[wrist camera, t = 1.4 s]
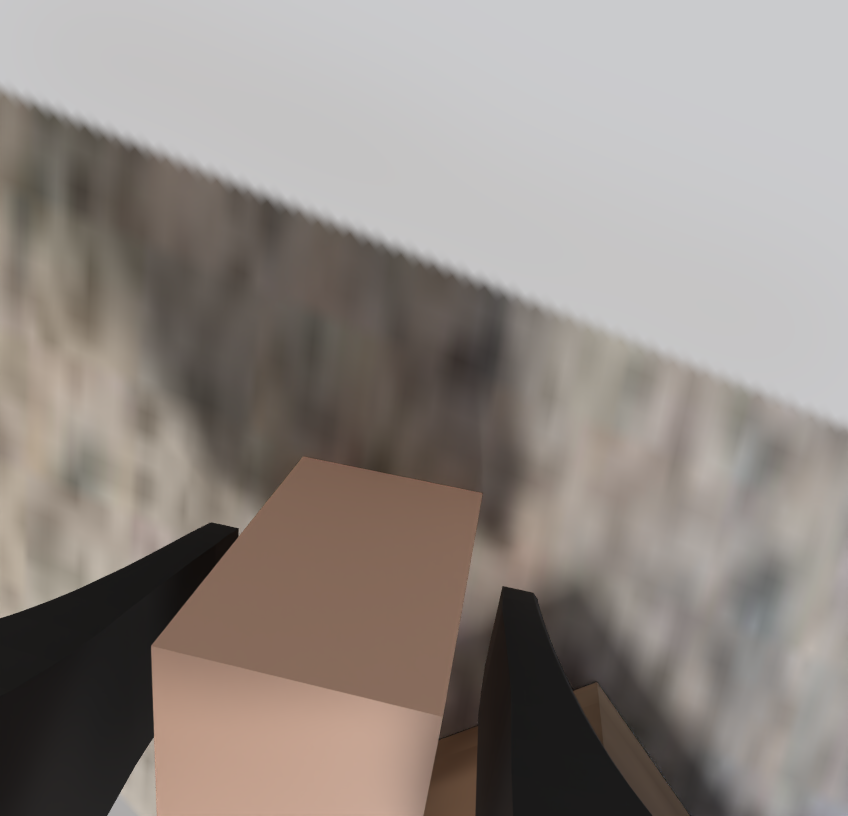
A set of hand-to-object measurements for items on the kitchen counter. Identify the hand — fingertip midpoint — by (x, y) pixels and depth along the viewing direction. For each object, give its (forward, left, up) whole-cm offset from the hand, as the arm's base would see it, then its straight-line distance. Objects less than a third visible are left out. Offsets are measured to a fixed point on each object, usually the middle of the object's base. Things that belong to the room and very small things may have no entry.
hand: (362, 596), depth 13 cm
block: (0, 0, -2) cm, 2 cm away
